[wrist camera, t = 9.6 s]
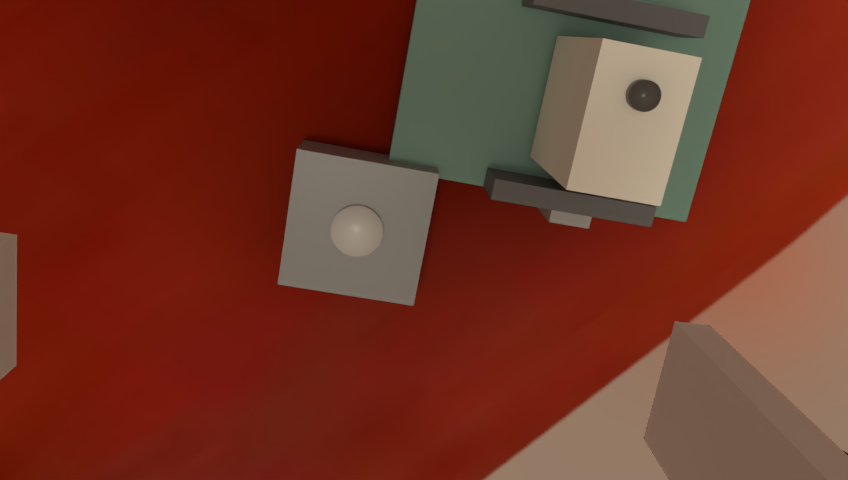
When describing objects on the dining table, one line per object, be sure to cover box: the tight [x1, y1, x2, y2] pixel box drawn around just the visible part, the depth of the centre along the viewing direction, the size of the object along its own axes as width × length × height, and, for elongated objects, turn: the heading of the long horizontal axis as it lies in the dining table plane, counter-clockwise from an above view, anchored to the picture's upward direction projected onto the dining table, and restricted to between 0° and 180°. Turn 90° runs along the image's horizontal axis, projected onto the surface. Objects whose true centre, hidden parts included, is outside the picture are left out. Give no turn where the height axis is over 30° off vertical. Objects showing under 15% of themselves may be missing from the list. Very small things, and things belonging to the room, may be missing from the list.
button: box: [278, 140, 439, 306], centre depth 38 cm, size 7×7×3 cm
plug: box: [530, 36, 702, 206], centre depth 33 cm, size 7×4×9 cm, turn 169°
